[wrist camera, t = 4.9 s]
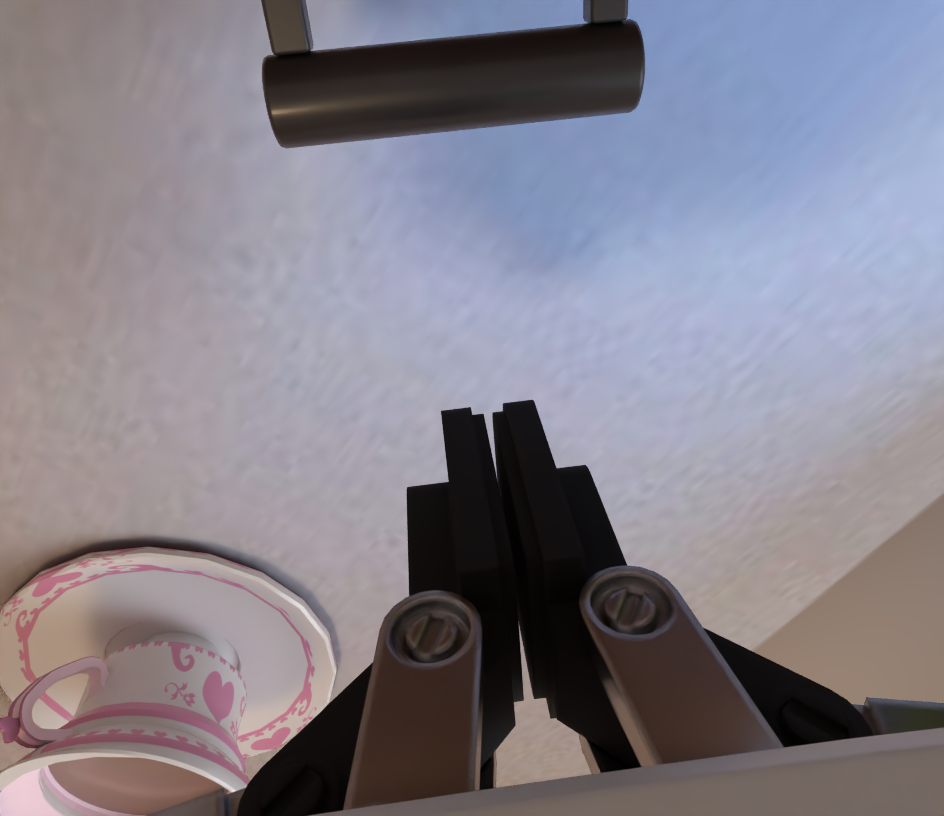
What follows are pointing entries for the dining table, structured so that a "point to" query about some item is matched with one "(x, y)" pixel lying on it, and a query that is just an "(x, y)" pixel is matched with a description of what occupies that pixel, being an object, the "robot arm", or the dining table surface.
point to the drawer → (448, 78)
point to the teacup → (151, 680)
